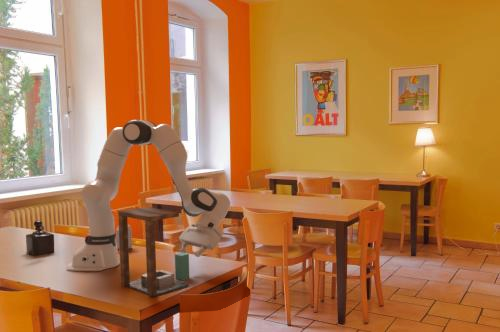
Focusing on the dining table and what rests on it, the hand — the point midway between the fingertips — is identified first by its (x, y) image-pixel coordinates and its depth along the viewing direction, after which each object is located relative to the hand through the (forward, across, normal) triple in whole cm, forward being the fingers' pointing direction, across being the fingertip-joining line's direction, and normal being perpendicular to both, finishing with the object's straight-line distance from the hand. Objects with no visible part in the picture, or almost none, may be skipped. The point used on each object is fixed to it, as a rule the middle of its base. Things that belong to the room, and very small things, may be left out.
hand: (189, 254), depth 201 cm
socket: (+18, 0, -5) cm, 18 cm away
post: (+9, 0, +4) cm, 10 cm away
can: (+1, -62, +12) cm, 64 cm away
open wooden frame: (+20, 0, -8) cm, 21 cm away
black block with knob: (+24, -86, -11) cm, 90 cm away
